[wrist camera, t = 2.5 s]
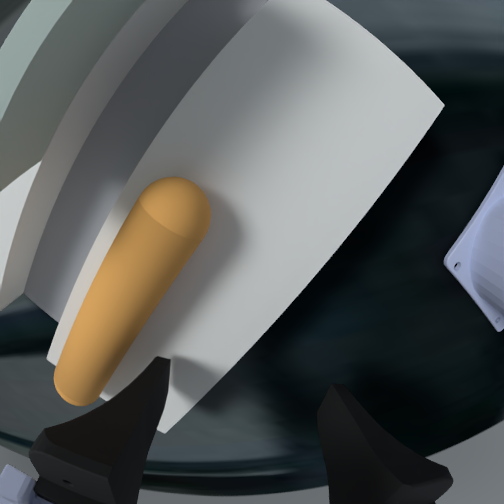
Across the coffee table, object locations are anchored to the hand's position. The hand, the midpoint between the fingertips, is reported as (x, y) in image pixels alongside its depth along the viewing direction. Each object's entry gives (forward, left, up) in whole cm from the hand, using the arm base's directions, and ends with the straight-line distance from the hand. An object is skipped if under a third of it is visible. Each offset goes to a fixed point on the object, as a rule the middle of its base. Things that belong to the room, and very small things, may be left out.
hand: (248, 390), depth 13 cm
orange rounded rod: (+7, 0, 0) cm, 7 cm away
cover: (+12, -8, +2) cm, 14 cm away
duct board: (+9, -4, -4) cm, 10 cm away
